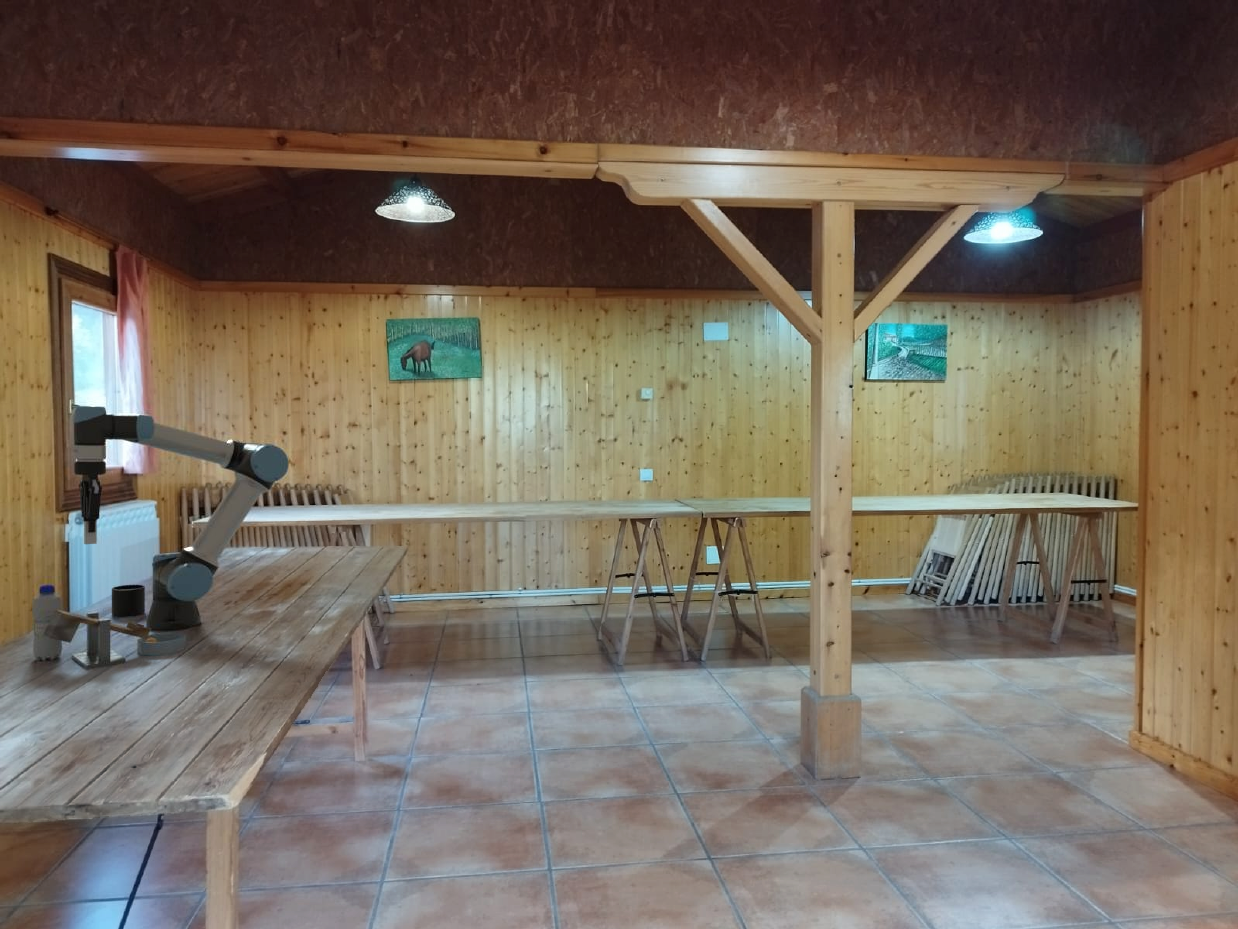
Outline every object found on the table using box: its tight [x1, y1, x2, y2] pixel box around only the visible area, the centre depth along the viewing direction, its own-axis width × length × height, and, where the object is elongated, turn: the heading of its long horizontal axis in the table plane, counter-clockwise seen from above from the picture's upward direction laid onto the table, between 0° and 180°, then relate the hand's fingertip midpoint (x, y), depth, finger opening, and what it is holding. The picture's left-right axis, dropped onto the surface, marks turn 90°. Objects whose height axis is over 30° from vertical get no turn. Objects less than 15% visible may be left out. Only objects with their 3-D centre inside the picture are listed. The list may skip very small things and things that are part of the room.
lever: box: [44, 609, 152, 643], centre depth 217 cm, size 22×8×8 cm, turn 138°
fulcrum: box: [71, 611, 127, 670], centre depth 217 cm, size 9×14×12 cm, turn 47°
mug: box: [111, 584, 146, 618], centre depth 271 cm, size 9×12×9 cm
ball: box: [145, 638, 157, 642], centre depth 227 cm, size 3×3×3 cm
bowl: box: [136, 631, 186, 656], centre depth 229 cm, size 11×11×4 cm
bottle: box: [31, 584, 63, 662], centre depth 217 cm, size 7×7×20 cm
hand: (90, 543), depth 229 cm, fingers closed
